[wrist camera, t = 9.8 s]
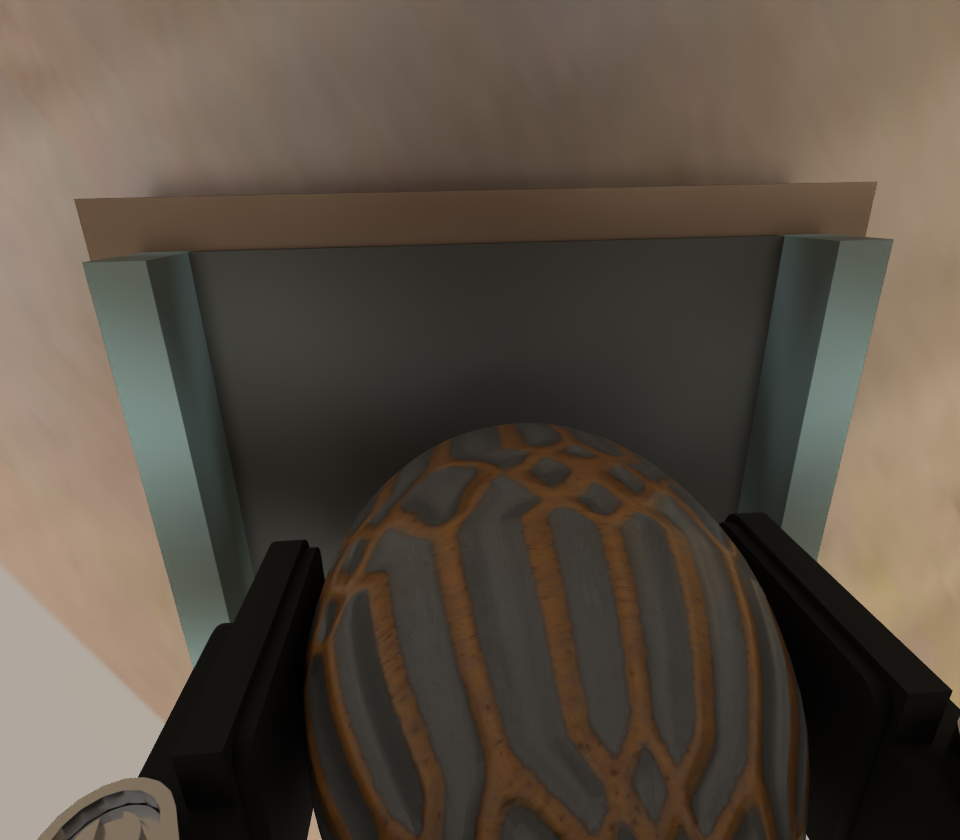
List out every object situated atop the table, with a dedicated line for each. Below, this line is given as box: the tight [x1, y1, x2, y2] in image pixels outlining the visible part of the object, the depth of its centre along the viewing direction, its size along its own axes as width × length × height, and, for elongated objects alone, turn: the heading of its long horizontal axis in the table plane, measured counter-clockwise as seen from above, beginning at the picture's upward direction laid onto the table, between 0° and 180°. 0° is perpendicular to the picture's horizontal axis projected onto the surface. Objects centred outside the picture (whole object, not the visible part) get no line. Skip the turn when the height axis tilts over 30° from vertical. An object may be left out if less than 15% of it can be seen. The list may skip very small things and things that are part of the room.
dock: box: [74, 182, 893, 669], centre depth 14 cm, size 14×16×5 cm
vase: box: [302, 423, 810, 840], centre depth 8 cm, size 7×7×9 cm
